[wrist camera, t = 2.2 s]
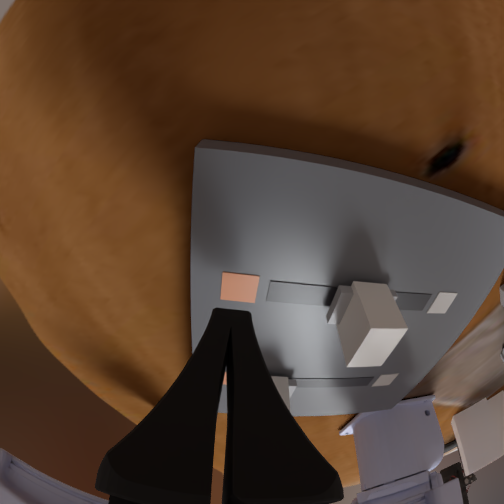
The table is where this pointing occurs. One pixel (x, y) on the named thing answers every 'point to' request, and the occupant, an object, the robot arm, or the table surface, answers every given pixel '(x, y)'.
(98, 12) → the table surface
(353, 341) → the breaker
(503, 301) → the alarm clock
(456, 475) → the microphone
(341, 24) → the table surface
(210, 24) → the table surface
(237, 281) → the panel
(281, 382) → the breaker on
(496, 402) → the white chamfered block
